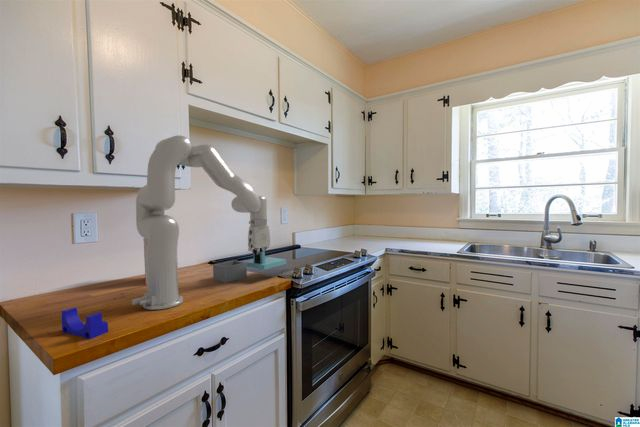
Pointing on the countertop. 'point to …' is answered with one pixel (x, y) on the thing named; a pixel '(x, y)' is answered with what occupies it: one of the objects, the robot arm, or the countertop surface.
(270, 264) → the lid
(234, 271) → the tub
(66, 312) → the cable clip
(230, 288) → the countertop surface
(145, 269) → the cracker box
